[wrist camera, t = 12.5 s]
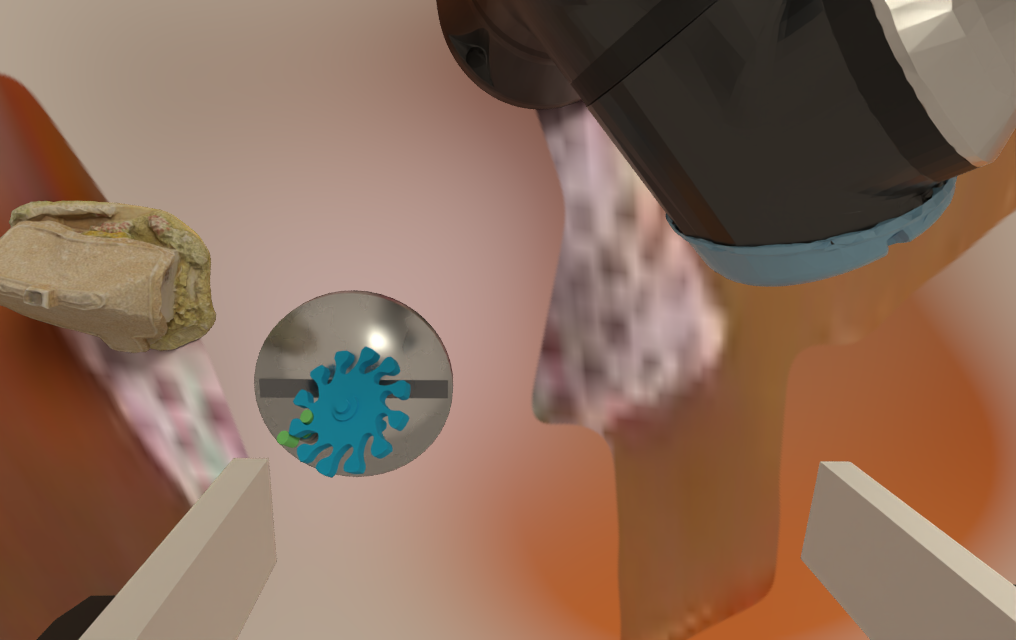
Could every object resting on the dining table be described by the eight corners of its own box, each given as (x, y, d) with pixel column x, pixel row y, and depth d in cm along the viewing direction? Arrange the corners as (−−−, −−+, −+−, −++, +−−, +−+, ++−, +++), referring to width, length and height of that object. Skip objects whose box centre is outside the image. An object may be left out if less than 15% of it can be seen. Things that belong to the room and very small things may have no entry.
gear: (394, 325, 42) (411, 449, 37) (426, 354, 47) (446, 466, 42) (270, 372, 44) (271, 496, 39) (314, 395, 49) (321, 507, 44)
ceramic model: (232, 225, 43) (163, 237, 33) (211, 359, 45) (141, 407, 35) (37, 176, 41) (-97, 173, 31) (25, 318, 43) (-102, 357, 33)
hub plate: (252, 288, 44) (246, 291, 42) (454, 292, 45) (454, 295, 44) (266, 470, 47) (261, 477, 46) (451, 469, 49) (451, 476, 48)
